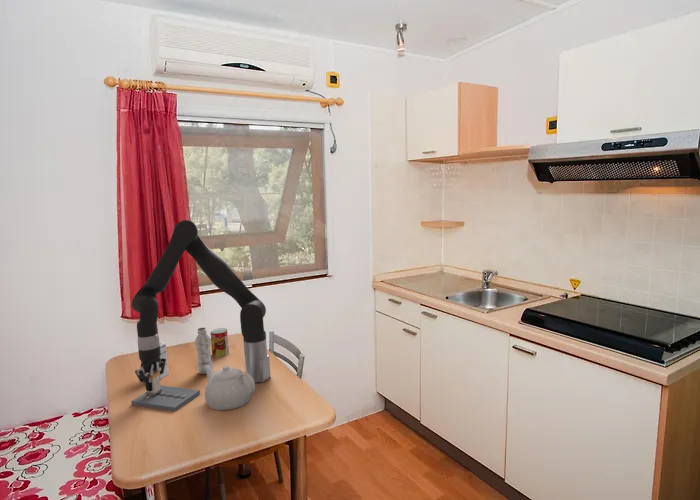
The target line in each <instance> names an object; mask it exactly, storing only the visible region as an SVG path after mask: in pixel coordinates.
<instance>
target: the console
mask: <svg viewBox="0 0 700 500" xmlns="http://www.w3.org/2000/svg"><path fill="white" fill-rule="evenodd" d="M160 388H161V389H162V391H161V392H159V393H158V394H156V395H154V396H151V395H145V392H144V393H142V394H141V395H139V396H138V397H136V398H134V399H132V400H131V401H130V402H131V405H132V406H138V407H143V408H149V409H157V410H164V411H170V412H177V411H179V409H181V408H182V407H184V406H185V405H186V404H188V403H190V402H191V401H192V400H194V399H195V398H196V397H198V396H200V395H201V390H199V389H192V388H185V387H184V388H183V387H176V386H170V385H169V386H168V385H161V384H160Z"/></svg>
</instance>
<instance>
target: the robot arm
mask: <svg viewBox="0 0 700 500" xmlns="http://www.w3.org/2000/svg"><path fill="white" fill-rule="evenodd" d="M185 251H186V253H188V254H189V255H190V257H192V259H193V260H194V261H195V262H196V264H198V266H199V268H200V270H202V271H203V273H204V274H205V275H206V276H207V278H208V279H209V280H210V281H211V283H212V284H213V285H214V286H215V287H216V288H218V289H219V290H221V291H222V292H223V293H225V294H227V295H228V296H230V297H231V298H232V299H233V300H235V302H236V303H237V304H238V305H239V307H240V308H241V309H240V313H239V320H240V331H241V334H242V335H241V336H242V338H243V339H242V340H243V351H244V354H243V355H244V366H245V367H244V369H245V372H246V373H249V374H250V375H251V376H252V378H253V379H254V382H255V384H258V383H257V382H260V383H265V382H266V381H267V380H268V379H270V378H271V377H270V376H272V375H271V363H270V360H271V359H270V355H269V354H268V349H267V348H268V347H267V333H266V330H265V328H264V327H265V326H264V325H265V324H264V318H265V315H266V312H267V310H266V309H267V308H266V306H265V304H264V303H263V302H262V300H261V299H260V298H258V296H256V295H255V294H254V293H253V292H252V291H251V290H250V289H249V288H248V287H247V286H246V285H245V283H244V282H243V281H242V280H241V279H240V277H239V276H238V275H237V274H236V273H235V272H234V270H233V268H232V267H231V266H229V264H228V263H227V261H225V260H224V258H222V257H221V256H219V254H217V253H216V252H214V251H213V250H212V249H210V248H209V247H208V246H207V244H205V242H204V241H203V240H202V238H201V237H200V235H199V230H198V227H197V225H196V223H195V222H194V221H191V220H189V219H188V220H187V219H183V220H181V221H179V222H178V223H176V224H175V226H174V228H173V232H172V234H171V238H170V240H169V243H168V245H167V246H166V248H165V250H164V252H163V254H162V255H161V257H160V259H159V261H158V262H157V263H156V265H155V267H154V268H153V270H152V272H151V273H150V275H149V277H148V279H147V280H146V282H145V283H144V284H143V285H142V286H141V287H140V288H139V289H138V291H137V292H136V293H135V295H134V296H133V299H132V301H131V307H132V309H133V310H134V311H135V312H137V313H139V320H138V321H137V322H136V331H137V350H138V359H139V360H140V367H139V369H136V370H134V373H135V375H136V378H137V379H138V380H139V381H140V383H144V385H145V390H147V391H150V392H151V391H152V390H153V389H152V382H151V379H152V378H151V376H152V375H153V372H160V375H161V374H163V373H164V367H165V362H166V359H165V358H160V356H161V352H160V343H161V342H160V336H159V331H158V323H157V322H158V317H159V302H158V300H157V298H155V297H156V296H157V295H158V294H159V293H162V292H164V291H165V289H166V287H167V285H168V283H169V282H170V280H171V279H172V276H173V274H174V273H175V271H176V269H177V265H178V264H179V261H180V260H181V257H182V256H183V254H184V252H185ZM160 368H161V371H160ZM160 375H159V378H160ZM147 376H148V379H147ZM269 377H270V378H269ZM266 379H267V380H266ZM265 380H266V381H265ZM264 381H265V382H264ZM147 391H146V392H147Z"/></svg>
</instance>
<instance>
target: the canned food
mask: <svg viewBox="0 0 700 500" xmlns="http://www.w3.org/2000/svg"><path fill="white" fill-rule="evenodd" d="M209 333H210V339H211V342H210V346H211V353H212V354H211V355H212V356H214V358H223V357H226V356H228V355H229V354H230V349H229V338H228V337H229V336H228V329H227V328H222V327H218V328H215V329H211V330H210V332H209ZM212 356H211V357H212ZM222 356H223V357H222Z"/></svg>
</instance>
